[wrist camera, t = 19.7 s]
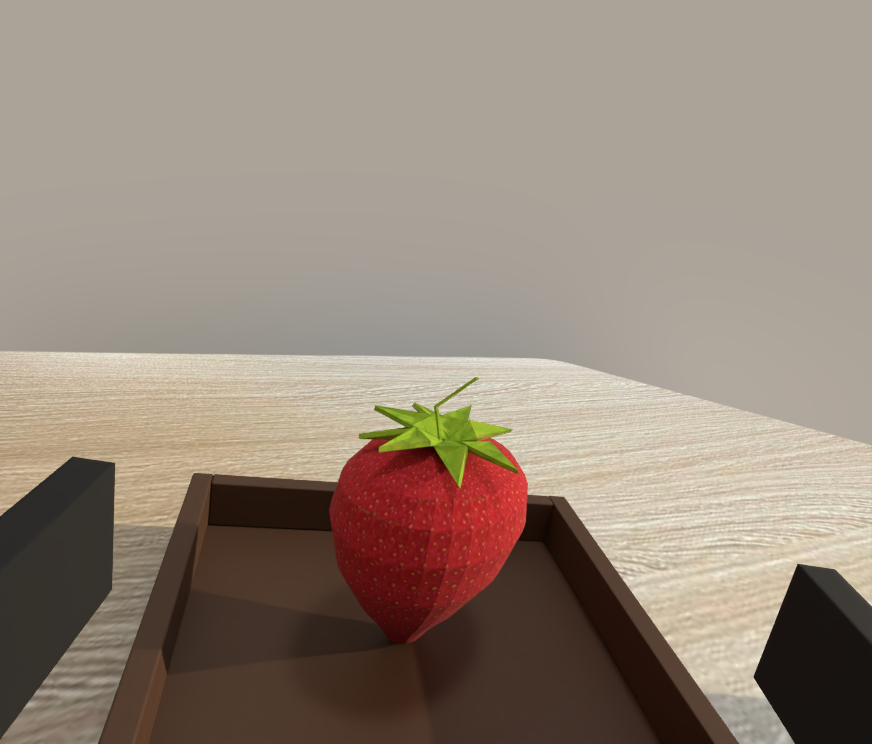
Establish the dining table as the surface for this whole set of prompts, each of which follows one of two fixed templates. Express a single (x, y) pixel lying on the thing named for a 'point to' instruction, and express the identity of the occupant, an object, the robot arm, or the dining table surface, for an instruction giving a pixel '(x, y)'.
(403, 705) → the tray
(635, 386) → the dining table surface
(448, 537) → the strawberry
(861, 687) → the robot arm
